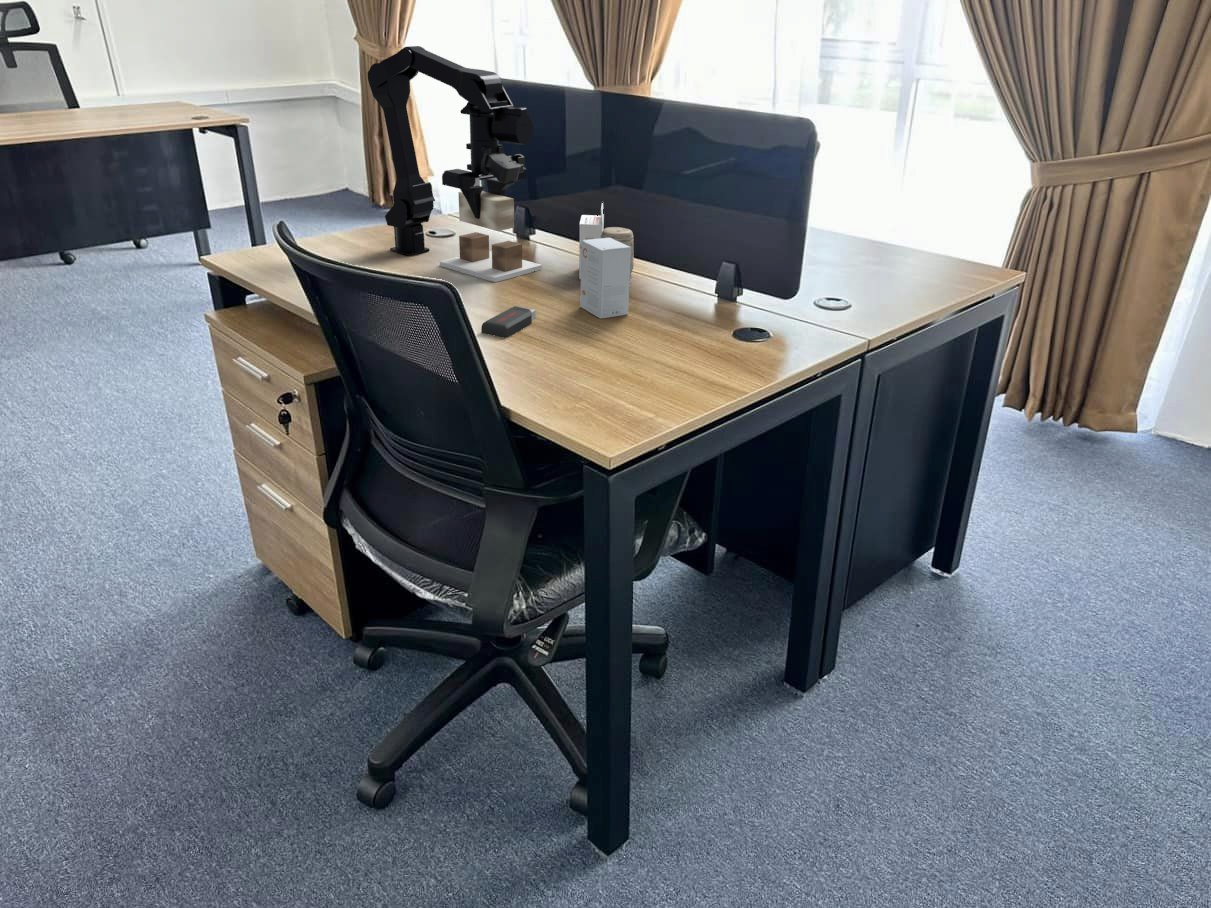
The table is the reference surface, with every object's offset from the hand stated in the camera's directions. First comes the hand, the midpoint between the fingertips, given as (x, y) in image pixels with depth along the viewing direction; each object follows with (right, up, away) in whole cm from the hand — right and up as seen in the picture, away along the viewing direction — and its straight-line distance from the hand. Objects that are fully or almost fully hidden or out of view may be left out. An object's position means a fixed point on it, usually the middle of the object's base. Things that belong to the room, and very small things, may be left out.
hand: (486, 216), depth 197 cm
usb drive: (+8, -27, -27) cm, 39 cm away
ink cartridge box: (+22, -12, +4) cm, 25 cm away
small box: (+25, -23, -18) cm, 38 cm away
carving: (+27, -16, -4) cm, 32 cm away
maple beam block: (0, -1, +1) cm, 2 cm away
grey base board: (0, -10, +6) cm, 11 cm away
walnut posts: (0, -10, +6) cm, 11 cm away
